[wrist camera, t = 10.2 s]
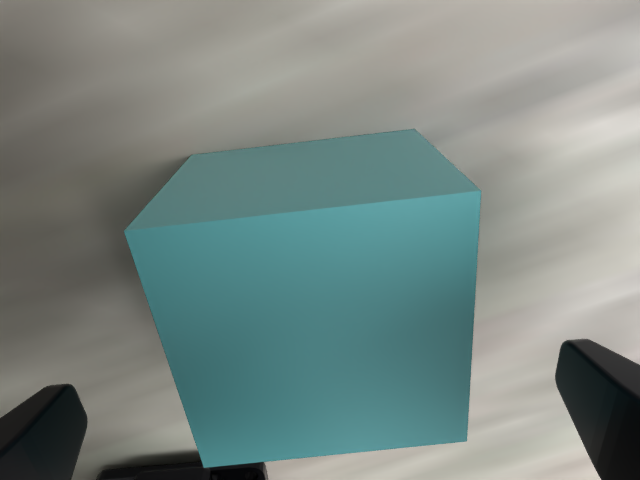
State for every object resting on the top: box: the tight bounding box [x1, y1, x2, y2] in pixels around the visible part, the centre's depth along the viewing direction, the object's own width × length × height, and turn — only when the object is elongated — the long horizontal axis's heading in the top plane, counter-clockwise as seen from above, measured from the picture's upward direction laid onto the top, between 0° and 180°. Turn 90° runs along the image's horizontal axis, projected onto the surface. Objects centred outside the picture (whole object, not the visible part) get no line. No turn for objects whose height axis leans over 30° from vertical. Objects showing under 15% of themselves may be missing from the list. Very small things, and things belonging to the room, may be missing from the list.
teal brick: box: [124, 129, 481, 468], centre depth 11 cm, size 6×6×5 cm
